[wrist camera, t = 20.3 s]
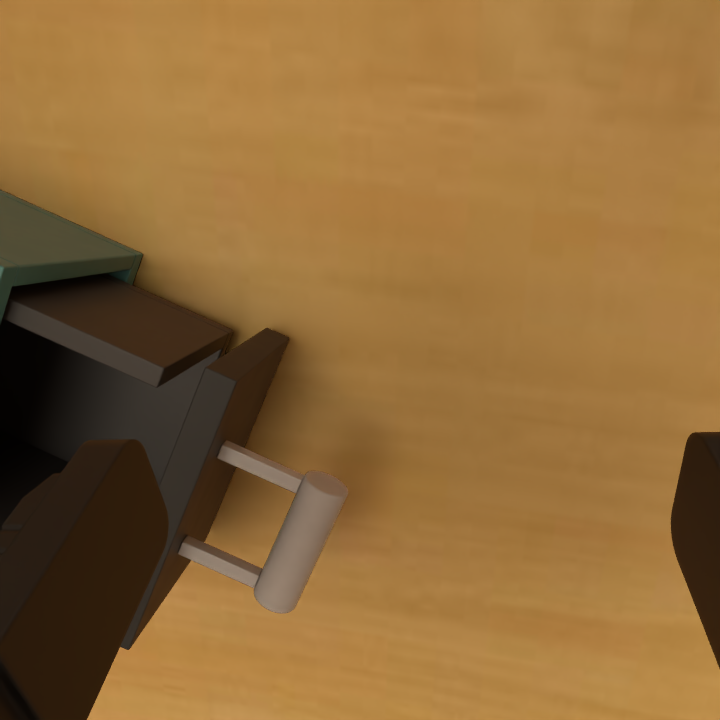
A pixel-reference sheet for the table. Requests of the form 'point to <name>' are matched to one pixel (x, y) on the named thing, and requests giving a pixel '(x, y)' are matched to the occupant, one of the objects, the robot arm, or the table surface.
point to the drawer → (153, 421)
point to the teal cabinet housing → (54, 249)
